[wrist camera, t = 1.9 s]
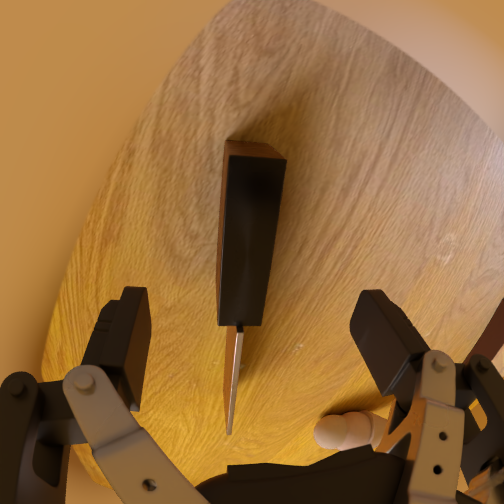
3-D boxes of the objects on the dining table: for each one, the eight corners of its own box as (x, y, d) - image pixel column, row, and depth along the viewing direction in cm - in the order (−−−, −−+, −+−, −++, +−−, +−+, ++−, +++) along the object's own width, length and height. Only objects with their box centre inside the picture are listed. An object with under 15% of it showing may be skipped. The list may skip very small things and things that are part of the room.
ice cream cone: (415, 455, 27) (316, 462, 26) (393, 441, 33) (301, 442, 32) (429, 415, 28) (331, 416, 27) (404, 405, 34) (313, 401, 33)
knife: (224, 140, 15) (229, 157, 11) (268, 143, 16) (290, 162, 11) (212, 390, 26) (215, 435, 21) (237, 390, 26) (242, 434, 22)
